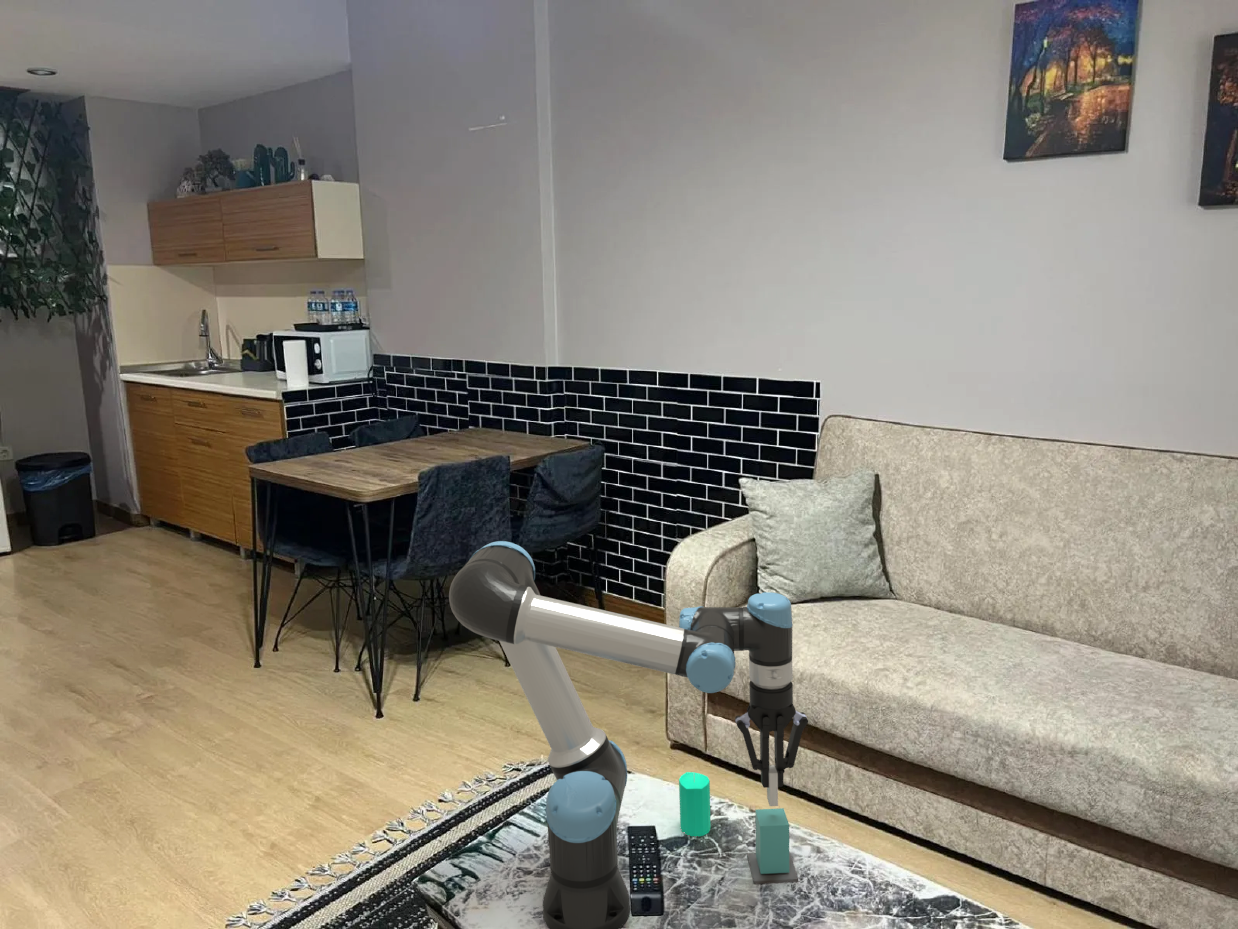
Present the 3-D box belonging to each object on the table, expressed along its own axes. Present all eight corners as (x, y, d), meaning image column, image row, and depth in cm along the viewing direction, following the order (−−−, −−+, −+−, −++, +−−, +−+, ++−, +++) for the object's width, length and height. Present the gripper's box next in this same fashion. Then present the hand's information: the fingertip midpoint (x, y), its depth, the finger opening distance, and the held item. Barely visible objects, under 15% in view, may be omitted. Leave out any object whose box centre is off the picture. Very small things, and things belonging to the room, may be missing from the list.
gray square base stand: (754, 884, 165) (753, 834, 163) (747, 856, 173) (746, 808, 170) (798, 882, 165) (798, 832, 163) (789, 854, 173) (789, 806, 171)
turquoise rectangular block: (760, 874, 166) (760, 826, 164) (755, 856, 171) (755, 809, 169) (789, 872, 166) (789, 825, 164) (783, 854, 171) (783, 808, 169)
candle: (675, 824, 183) (673, 769, 181) (701, 816, 186) (699, 762, 183) (689, 840, 178) (688, 784, 176) (716, 831, 181) (715, 776, 178)
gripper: (736, 692, 157) (739, 815, 162) (812, 688, 157) (813, 812, 162) (730, 673, 165) (733, 792, 169) (803, 669, 165) (804, 788, 170)
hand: (772, 801), depth 166 cm, fingers closed
